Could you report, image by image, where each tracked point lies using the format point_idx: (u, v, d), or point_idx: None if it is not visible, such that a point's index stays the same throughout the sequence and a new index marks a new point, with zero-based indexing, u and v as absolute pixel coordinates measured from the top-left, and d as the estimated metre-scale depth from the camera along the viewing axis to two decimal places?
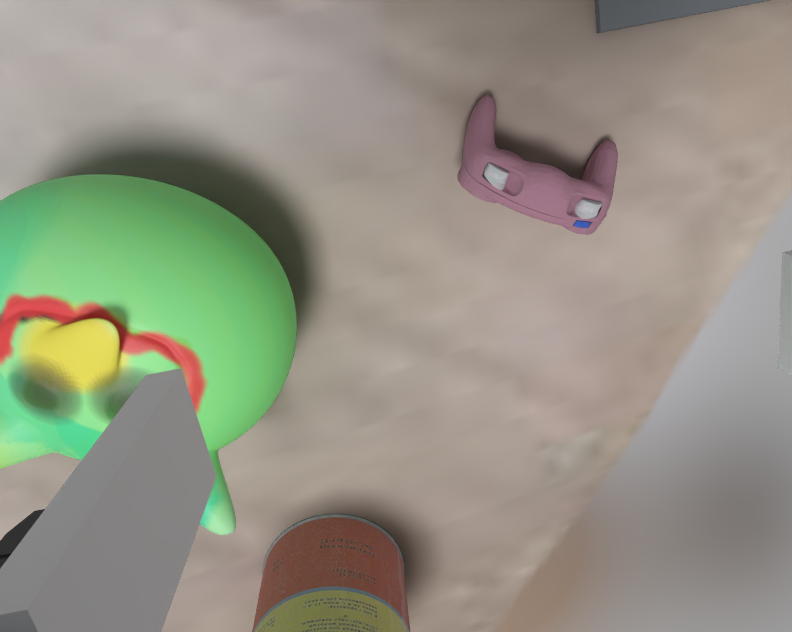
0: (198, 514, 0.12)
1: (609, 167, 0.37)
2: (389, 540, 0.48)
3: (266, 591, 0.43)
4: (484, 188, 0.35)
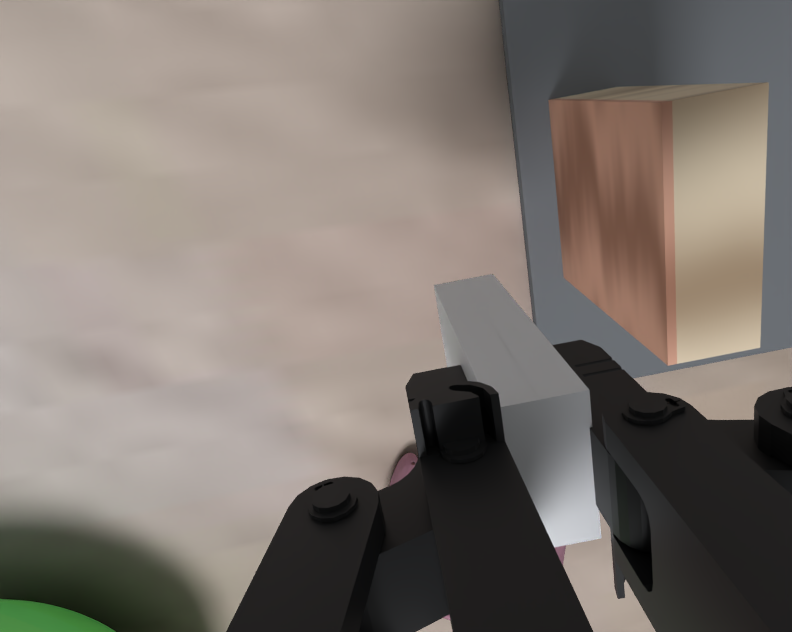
0: None
1: None
2: None
3: None
4: None
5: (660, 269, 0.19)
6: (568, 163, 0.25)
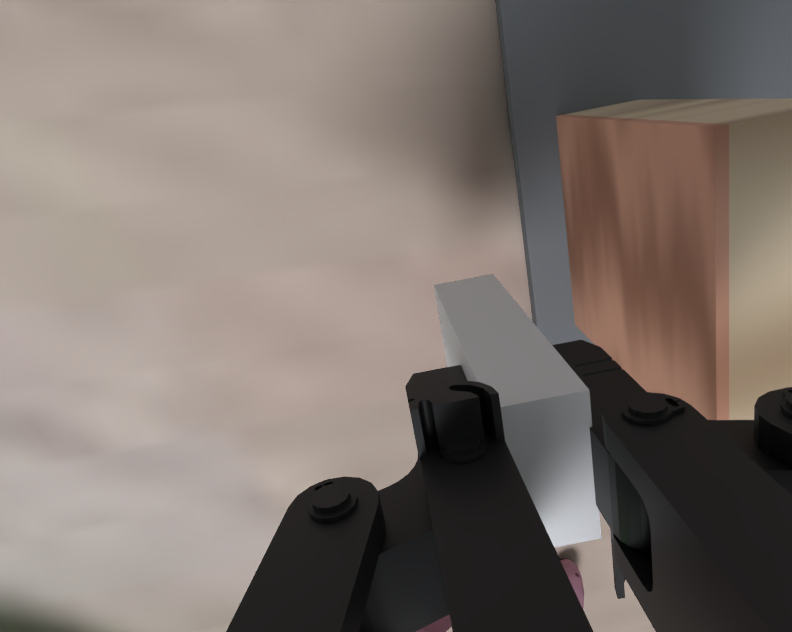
0: None
1: None
2: None
3: None
4: None
5: (708, 343, 0.14)
6: (581, 193, 0.21)
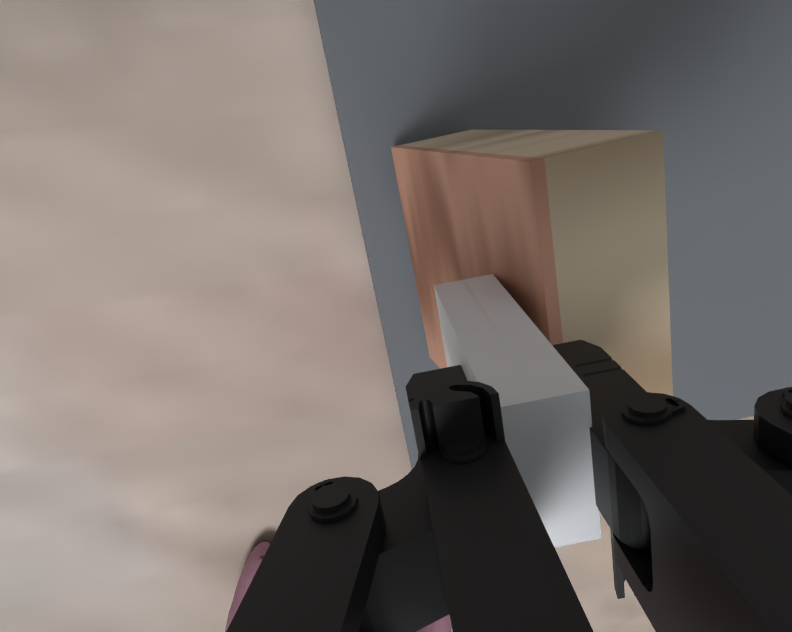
0: None
1: None
2: None
3: None
4: None
5: None
6: (421, 225, 0.20)
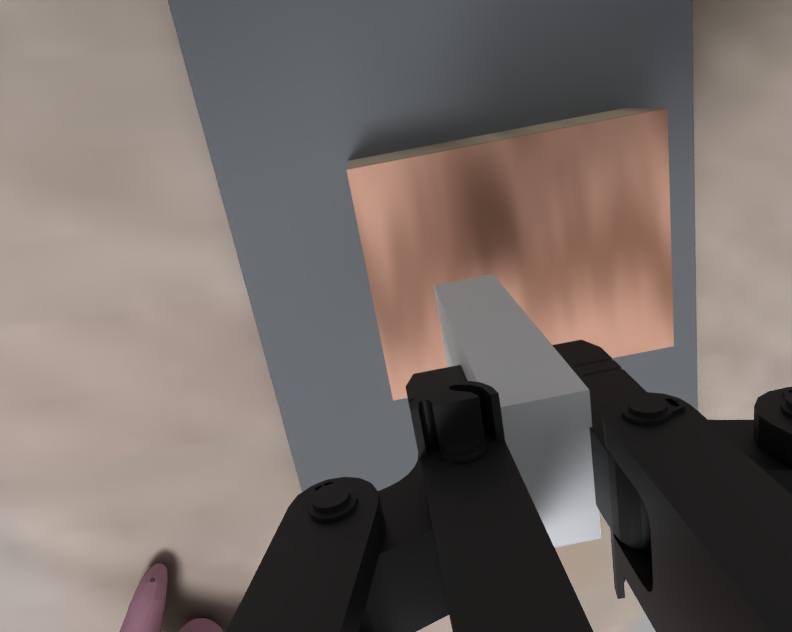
0: None
1: None
2: None
3: None
4: None
5: (662, 262, 0.20)
6: (423, 236, 0.20)
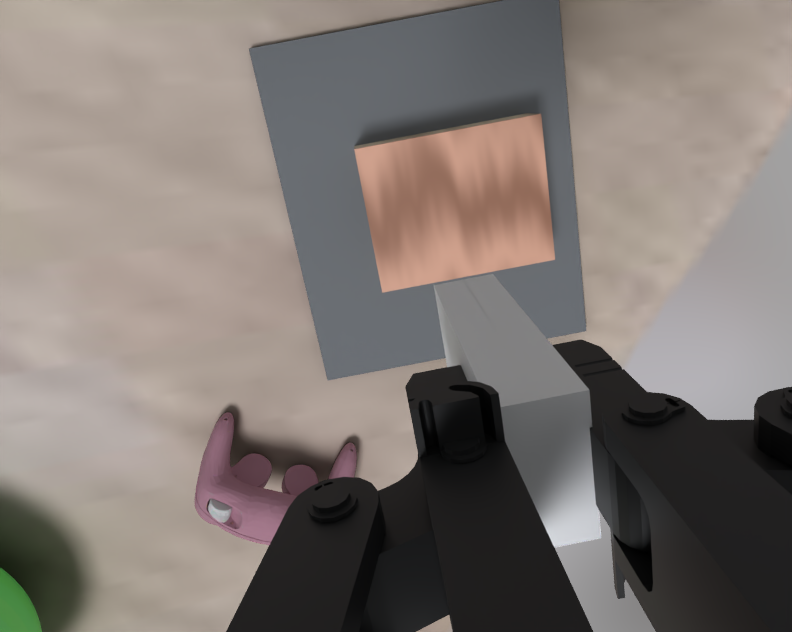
0: None
1: None
2: None
3: None
4: (210, 518, 0.38)
5: (544, 206, 0.34)
6: (399, 189, 0.33)
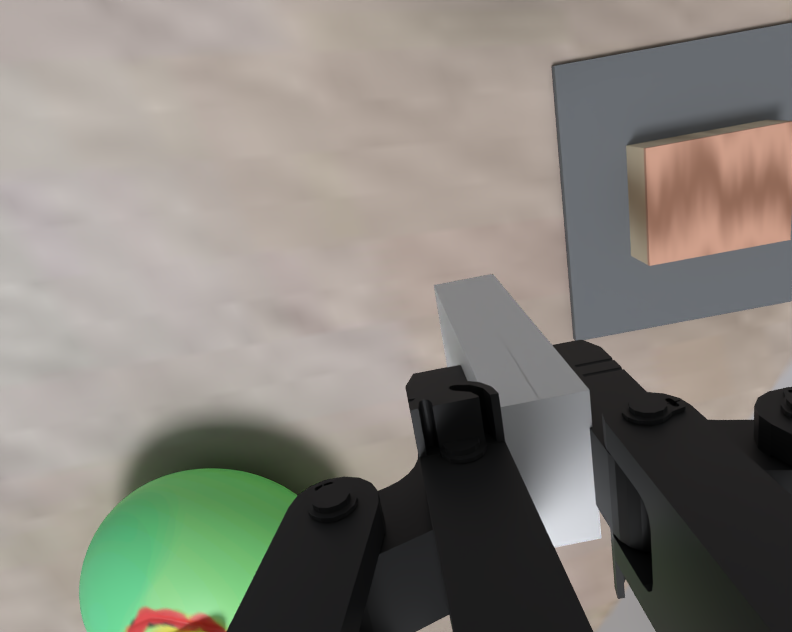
0: None
1: None
2: None
3: None
4: None
5: (787, 195, 0.42)
6: (676, 181, 0.41)
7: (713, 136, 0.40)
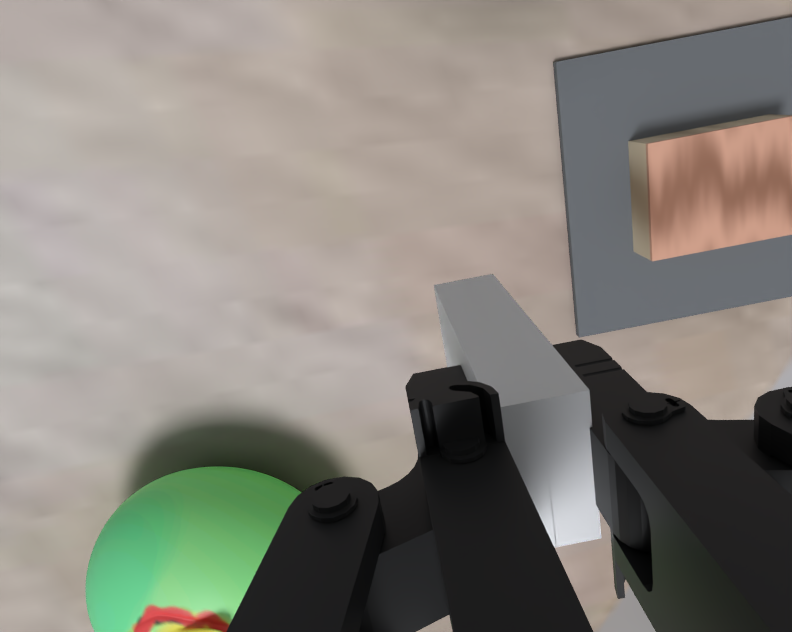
0: None
1: None
2: None
3: None
4: None
5: (790, 190, 0.42)
6: (678, 176, 0.41)
7: (715, 131, 0.40)
